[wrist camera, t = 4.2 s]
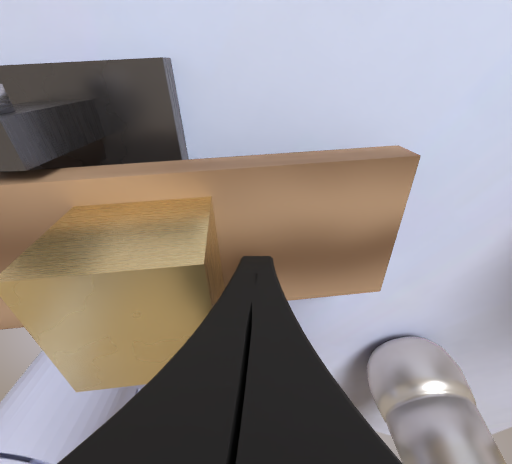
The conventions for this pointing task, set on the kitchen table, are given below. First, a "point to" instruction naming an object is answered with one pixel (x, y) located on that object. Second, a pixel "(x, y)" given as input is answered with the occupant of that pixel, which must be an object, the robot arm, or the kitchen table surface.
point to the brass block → (117, 288)
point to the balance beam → (243, 210)
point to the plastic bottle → (428, 405)
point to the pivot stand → (89, 114)
